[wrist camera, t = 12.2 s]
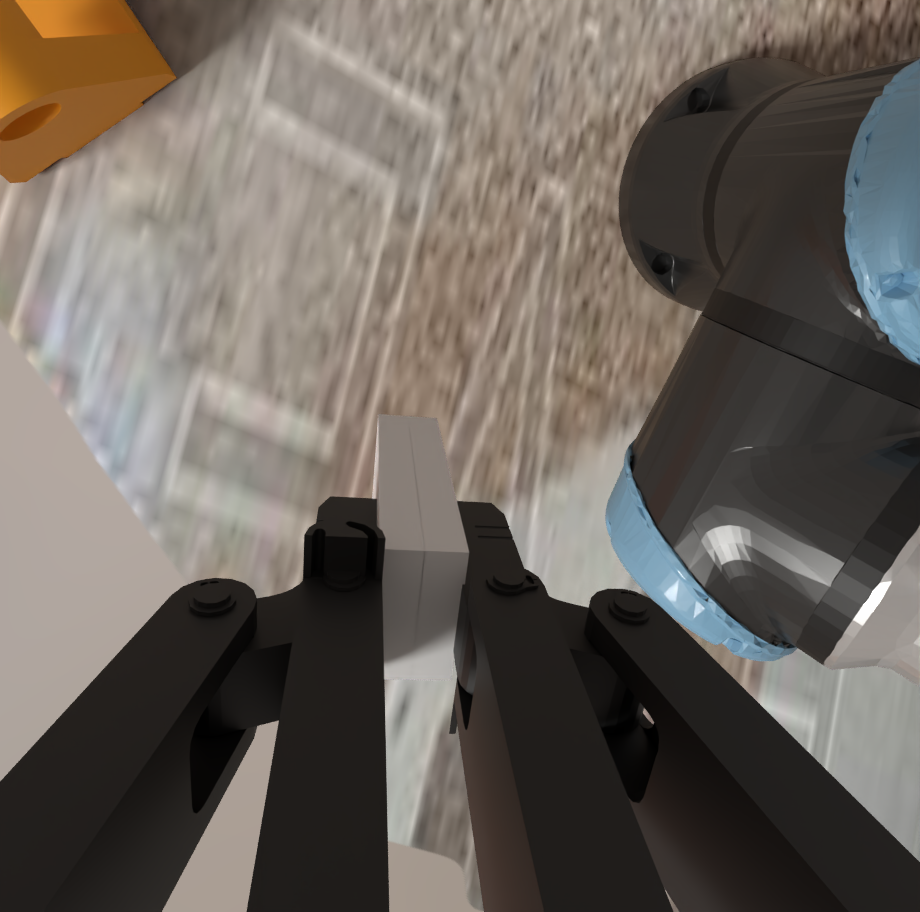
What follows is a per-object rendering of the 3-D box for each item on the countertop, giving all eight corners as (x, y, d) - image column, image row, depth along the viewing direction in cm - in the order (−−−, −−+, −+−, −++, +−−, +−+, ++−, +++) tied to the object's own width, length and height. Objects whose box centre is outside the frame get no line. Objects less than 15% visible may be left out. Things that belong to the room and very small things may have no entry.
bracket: (89, -56, 36) (-36, -153, 25) (180, 79, 39) (103, 46, 28) (-67, 58, 37) (-253, 14, 26) (32, 181, 40) (-98, 188, 29)
